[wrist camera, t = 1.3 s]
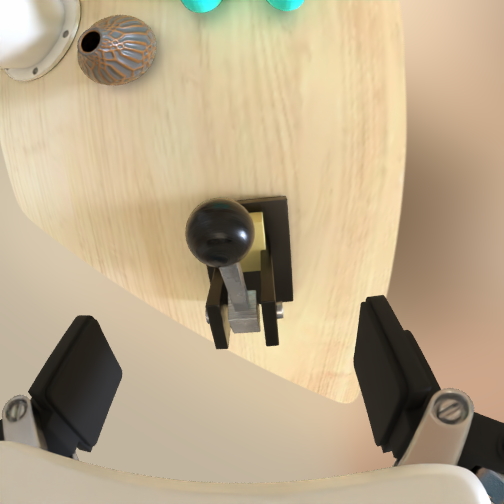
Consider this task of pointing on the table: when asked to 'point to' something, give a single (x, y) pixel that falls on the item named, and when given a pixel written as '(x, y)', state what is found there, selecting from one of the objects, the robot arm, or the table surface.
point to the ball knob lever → (226, 254)
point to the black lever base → (258, 275)
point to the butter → (255, 245)
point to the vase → (116, 50)
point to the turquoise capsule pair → (201, 3)
